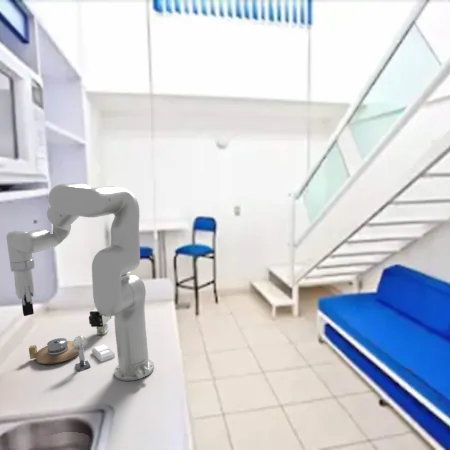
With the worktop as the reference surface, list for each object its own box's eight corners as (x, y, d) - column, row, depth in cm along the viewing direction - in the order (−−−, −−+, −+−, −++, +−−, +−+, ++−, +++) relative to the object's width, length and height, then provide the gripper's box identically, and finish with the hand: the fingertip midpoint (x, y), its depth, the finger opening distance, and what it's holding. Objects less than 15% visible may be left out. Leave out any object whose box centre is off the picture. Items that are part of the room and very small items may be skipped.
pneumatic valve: (113, 327, 159) (111, 300, 157) (102, 339, 148) (99, 310, 146) (101, 327, 160) (98, 300, 158) (88, 339, 148) (85, 310, 146)
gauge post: (91, 367, 126) (87, 336, 125) (77, 371, 124) (73, 340, 122) (88, 362, 130) (84, 332, 128) (74, 366, 127) (71, 336, 126)
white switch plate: (105, 349, 139) (104, 343, 139) (115, 358, 132) (114, 351, 132) (92, 354, 136) (91, 347, 136) (101, 363, 129) (100, 355, 129)
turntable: (83, 341, 144) (82, 331, 144) (78, 359, 130) (76, 348, 129) (36, 348, 140) (34, 338, 140) (25, 368, 126) (23, 356, 125)
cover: (70, 351, 134) (69, 341, 133) (49, 357, 130) (48, 347, 130) (65, 344, 139) (64, 335, 139) (46, 350, 136) (44, 341, 135)
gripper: (7, 263, 137) (14, 311, 140) (13, 271, 125) (19, 323, 127) (30, 259, 141) (36, 306, 144) (37, 266, 129) (43, 317, 132)
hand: (28, 314), depth 136 cm, fingers closed
